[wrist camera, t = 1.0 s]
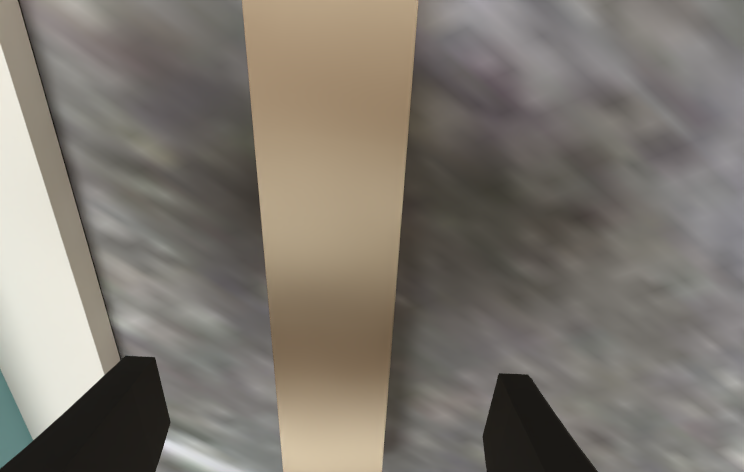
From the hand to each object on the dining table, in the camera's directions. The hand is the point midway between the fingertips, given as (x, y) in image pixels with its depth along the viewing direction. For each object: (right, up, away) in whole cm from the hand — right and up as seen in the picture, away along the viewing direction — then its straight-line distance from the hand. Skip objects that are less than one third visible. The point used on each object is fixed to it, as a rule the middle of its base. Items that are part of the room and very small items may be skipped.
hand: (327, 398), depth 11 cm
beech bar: (0, +3, +5) cm, 5 cm away
